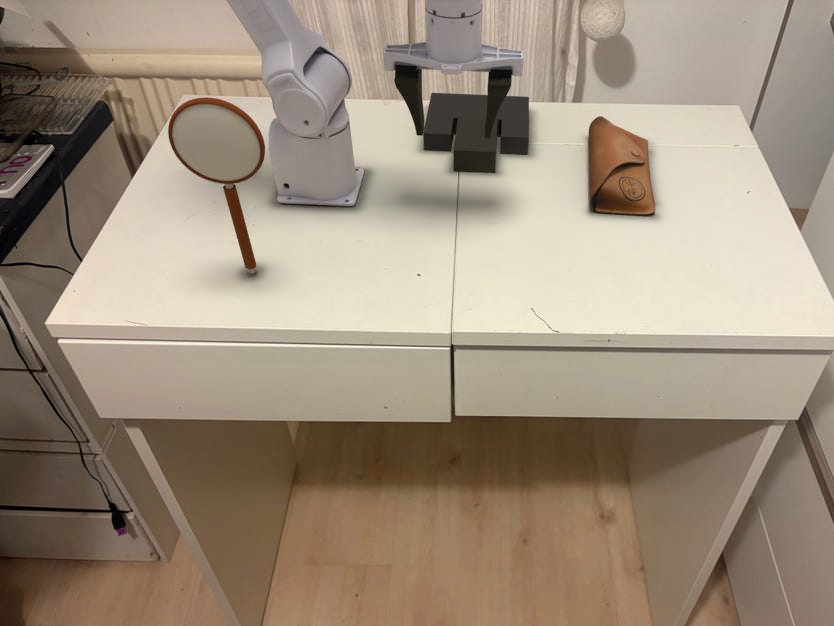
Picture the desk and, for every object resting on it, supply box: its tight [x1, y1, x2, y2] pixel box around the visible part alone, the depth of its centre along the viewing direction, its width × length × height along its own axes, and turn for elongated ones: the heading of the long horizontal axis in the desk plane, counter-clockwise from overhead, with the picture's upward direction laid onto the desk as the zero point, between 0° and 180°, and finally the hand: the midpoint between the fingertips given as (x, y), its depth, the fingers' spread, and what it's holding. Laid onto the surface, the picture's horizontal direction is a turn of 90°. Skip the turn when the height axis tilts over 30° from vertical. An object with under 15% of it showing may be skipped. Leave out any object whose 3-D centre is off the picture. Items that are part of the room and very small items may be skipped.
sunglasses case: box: [588, 115, 656, 216], centre depth 91 cm, size 18×7×7 cm
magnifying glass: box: [167, 97, 266, 275], centre depth 70 cm, size 9×2×20 cm, turn 90°
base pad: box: [423, 92, 530, 155], centre depth 99 cm, size 14×12×2 cm
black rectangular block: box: [453, 116, 498, 173], centre depth 94 cm, size 5×9×3 cm, turn 177°
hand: (454, 132), depth 81 cm, fingers open, 7 cm apart
